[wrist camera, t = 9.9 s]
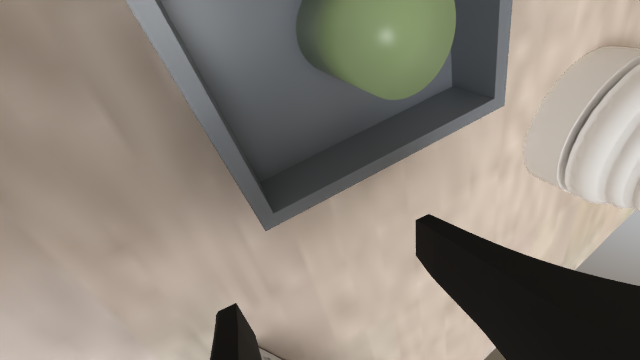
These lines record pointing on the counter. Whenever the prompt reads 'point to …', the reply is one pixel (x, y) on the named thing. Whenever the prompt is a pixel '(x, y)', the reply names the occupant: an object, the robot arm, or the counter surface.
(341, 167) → the bin
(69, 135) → the counter surface
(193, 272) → the counter surface
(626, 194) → the honey pot
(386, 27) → the cucumber chunk
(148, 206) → the counter surface
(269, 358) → the supplement box
